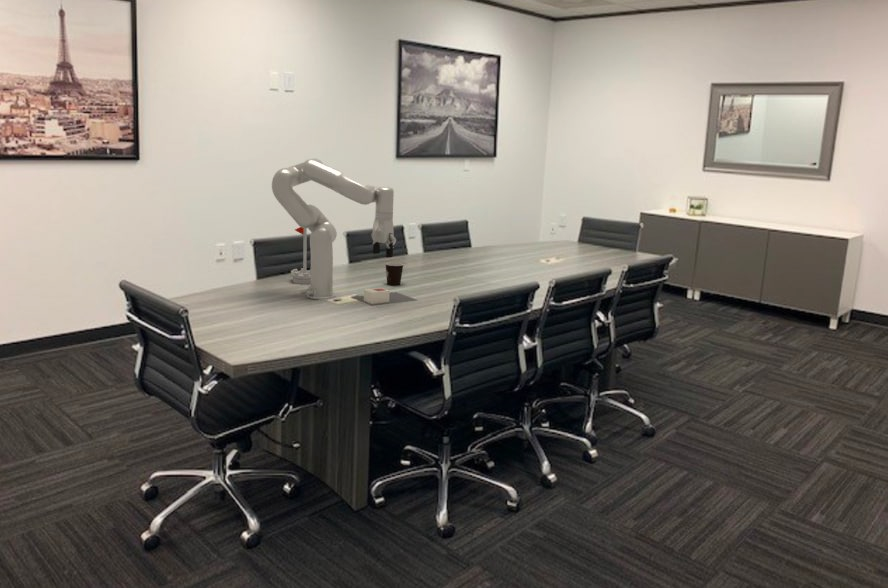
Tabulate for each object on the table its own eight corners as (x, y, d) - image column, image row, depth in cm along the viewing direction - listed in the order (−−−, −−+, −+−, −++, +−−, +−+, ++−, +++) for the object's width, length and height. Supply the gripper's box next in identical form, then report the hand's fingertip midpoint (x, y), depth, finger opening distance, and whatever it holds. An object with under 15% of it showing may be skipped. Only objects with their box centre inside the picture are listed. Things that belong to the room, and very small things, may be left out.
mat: (371, 307, 307) (371, 305, 306) (350, 298, 320) (350, 297, 320) (418, 301, 321) (418, 300, 321) (395, 293, 335) (395, 291, 335)
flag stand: (321, 280, 356) (322, 219, 349) (314, 285, 343) (314, 222, 336) (295, 278, 357) (295, 217, 350) (287, 283, 344) (287, 220, 338)
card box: (371, 304, 309) (371, 292, 308) (363, 300, 314) (363, 289, 313) (389, 301, 315) (389, 290, 314) (381, 298, 320) (381, 287, 319)
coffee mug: (401, 286, 349) (402, 266, 347) (383, 285, 350) (384, 265, 347) (403, 281, 361) (404, 262, 359) (386, 280, 361) (387, 261, 359)
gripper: (365, 214, 316) (364, 252, 320) (388, 219, 303) (387, 259, 307) (379, 213, 321) (378, 251, 324) (403, 218, 308) (401, 258, 311)
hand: (382, 255), depth 315 cm, fingers open, 9 cm apart
